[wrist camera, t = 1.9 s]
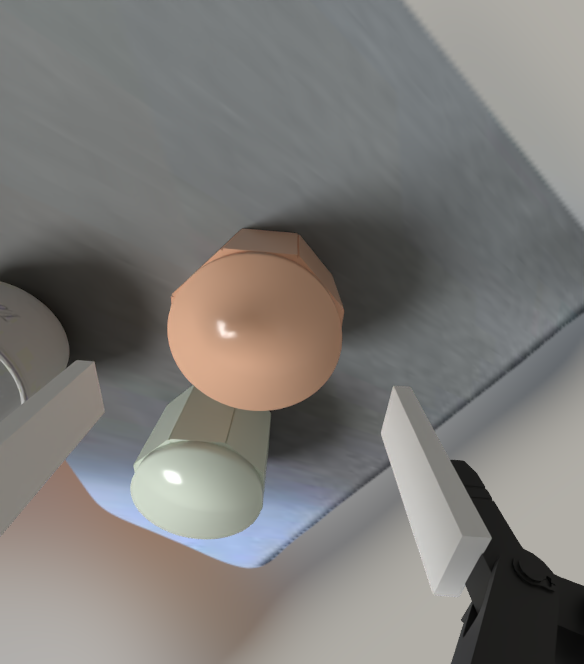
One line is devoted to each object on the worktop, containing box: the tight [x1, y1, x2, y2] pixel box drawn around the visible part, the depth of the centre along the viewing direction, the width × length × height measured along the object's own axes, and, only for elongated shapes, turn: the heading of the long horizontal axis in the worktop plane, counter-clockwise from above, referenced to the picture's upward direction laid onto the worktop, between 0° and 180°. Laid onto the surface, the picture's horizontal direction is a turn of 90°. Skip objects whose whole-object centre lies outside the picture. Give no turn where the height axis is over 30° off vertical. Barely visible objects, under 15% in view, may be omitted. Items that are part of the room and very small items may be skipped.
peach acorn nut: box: [167, 228, 344, 411], centre depth 22 cm, size 10×10×8 cm
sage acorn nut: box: [130, 385, 271, 539], centre depth 28 cm, size 10×10×8 cm
